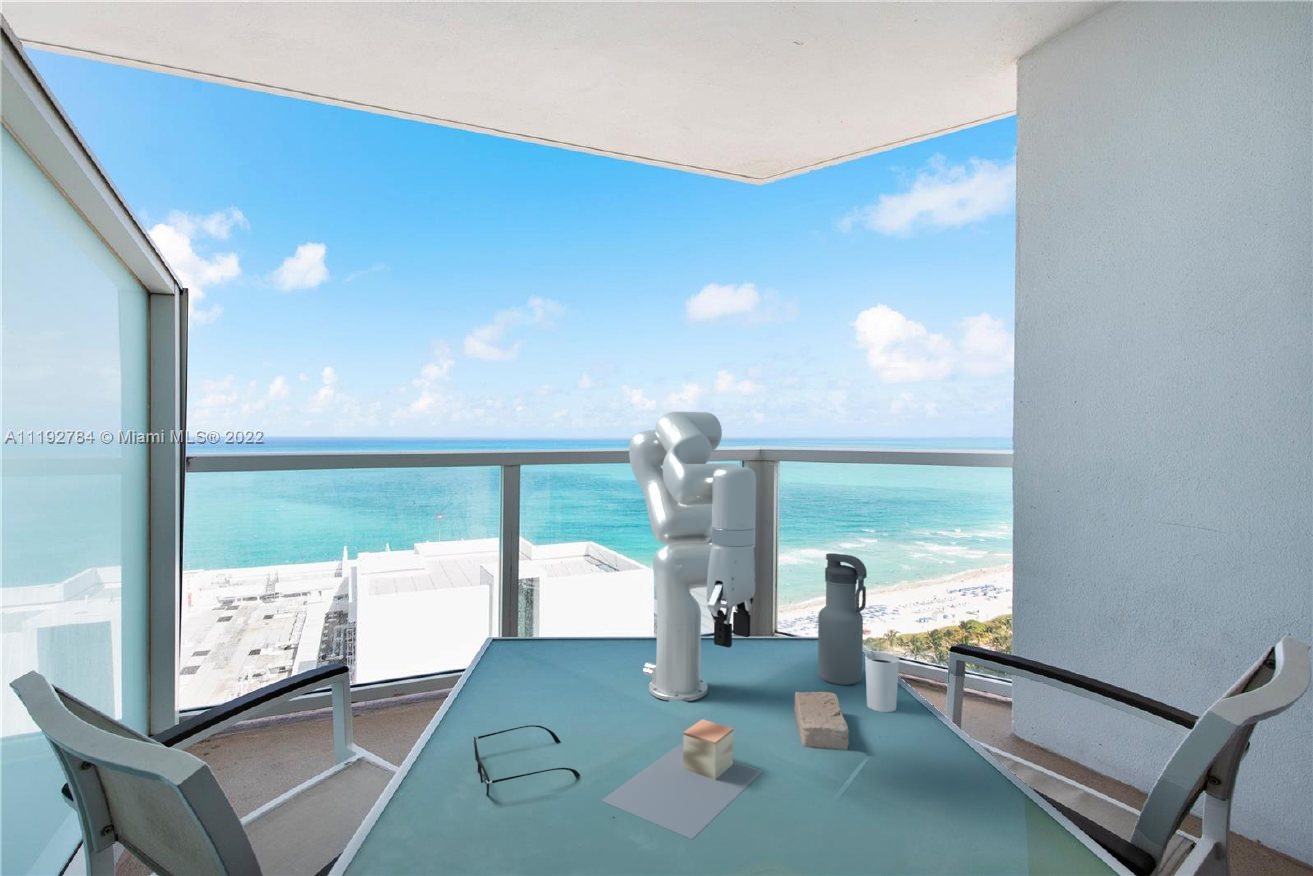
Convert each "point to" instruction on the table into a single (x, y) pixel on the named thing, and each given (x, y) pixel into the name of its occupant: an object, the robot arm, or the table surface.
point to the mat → (680, 793)
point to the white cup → (881, 681)
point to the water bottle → (842, 621)
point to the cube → (708, 749)
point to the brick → (821, 720)
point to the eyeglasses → (481, 767)
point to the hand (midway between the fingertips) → (732, 639)
